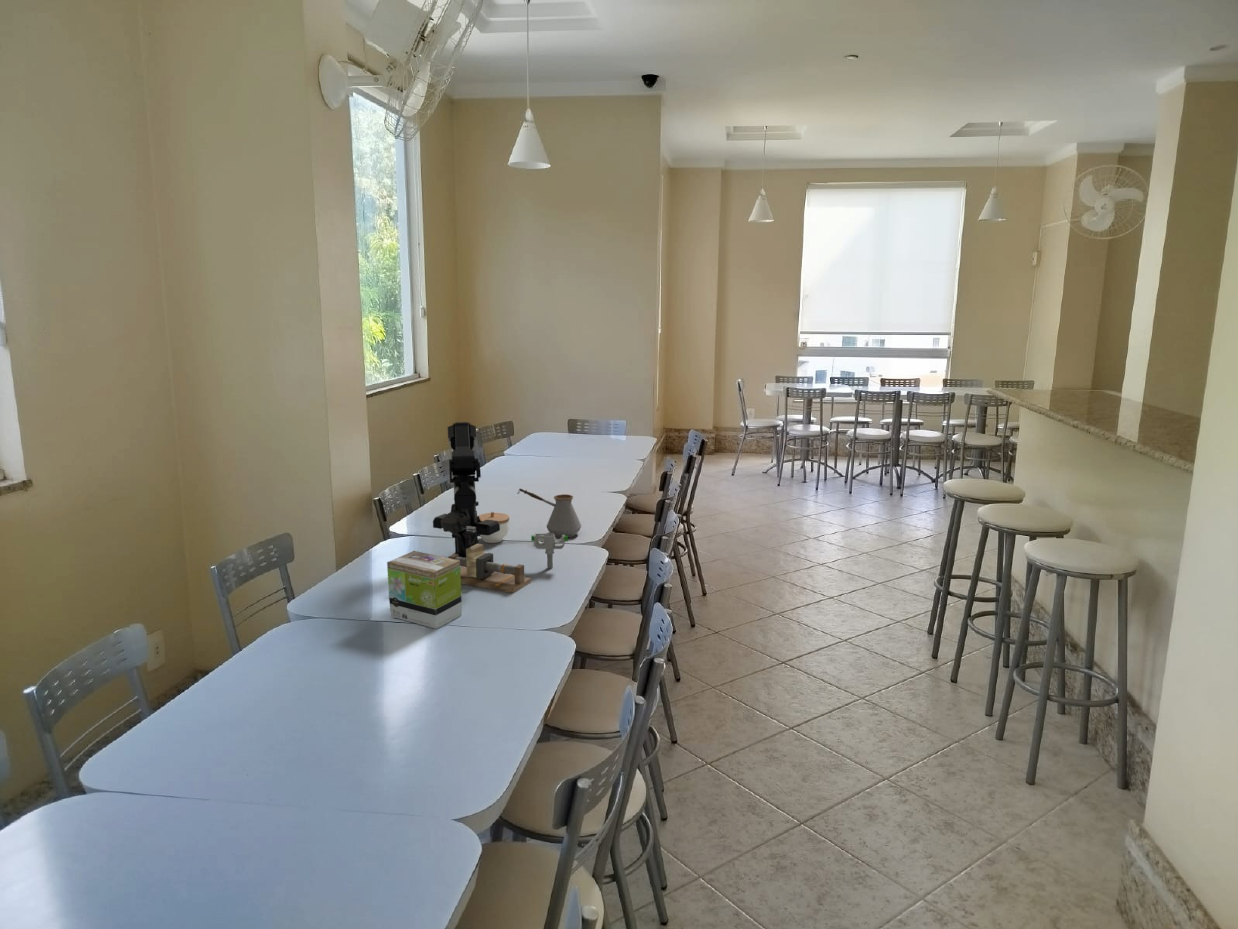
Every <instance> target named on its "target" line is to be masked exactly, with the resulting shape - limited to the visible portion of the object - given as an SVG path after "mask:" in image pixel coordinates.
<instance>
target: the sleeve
mask: <svg viewBox="0 0 1238 929" xmlns="http://www.w3.org/2000/svg"><path fill="white" fill-rule="evenodd" d="M487 553H488V552H484V544H483V543H482V544H481V543H479V544H476V545H474V546H472V547H469V548H467V549H466V561H467V576H470V577H477V558H479V557H481V556H483V555H485V554H487Z"/></svg>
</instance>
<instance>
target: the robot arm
mask: <svg viewBox="0 0 1238 929" xmlns="http://www.w3.org/2000/svg"><path fill="white" fill-rule="evenodd" d="M447 441H448V442H449V443H450V447H451V450H452V451H451V458H449V459H448V461H449V462H448V463H449V464H448V466H449V468H448V470H449V483H450V484H453V500H454V503H452V504H451V507H450V512H448V513H443V514H440V515H438V516H435V517H434V518H433V520H432V528H433V529H440V530H443V532H445V533H447V532H449V533H450V534H451V538H452V539H454V548H455V549H454V550H455V552H454V553H452V554H451V555H453V554H458V555H459V557H462V558H466V549H467V548H469V547H472V546H474V545H476V544H480V541H479V540H480V539H478V537H480V535H486V536H487V535H491V534H493V533H495V532H497V531H500V524H499V523H498V521H495V520H484V521H481V520H480V518H479V515H478V512H477V506H480V504H479V501H477V492H476V482H478V483H479V480H480V478H482V474H481V462H480V461H479V459H478V457H476V453H475V450H473V449H474V447H475V442H476V441H477V426H475V425H473V424H471V422H468V421H459V422H457V421H456V422H453V423H452V424H451V425H450V426H447ZM452 476H453V477H452Z"/></svg>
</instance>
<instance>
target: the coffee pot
mask: <svg viewBox="0 0 1238 929" xmlns="http://www.w3.org/2000/svg"><path fill="white" fill-rule="evenodd" d="M520 492H521V493H522V492H523V493H524V494H526V495H528V496H529V497H531V498H534V499H536V500H539V501H541V502H543V503H545V504H547V505H549V506H552V507H553V510H552V511H551V514H550V517H549V518H548V521H547V524H546V528H547V531H548V532H549V534H554V536H555V538H560V539H561V538H562V535H565V536H567V538H572V537H574V536H576V534H578V533H579V531H580V530H581V528H582V524H581V522H580V520H579V517H578V514H577V513H576V511H575V507H574V505H573V504H572V501H573V499H574V496H573V495H571V494H558V495H554V496H553V499H554V501H555V503H554V502H552V501H550V500H547V499H545V498H543V497H541V496H539V495H537V494H535V493H533V492H529V491H527V489H526V490H525V489H523V488H519V489H518V491H517V495H519V494H520Z"/></svg>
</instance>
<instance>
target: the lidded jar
mask: <svg viewBox="0 0 1238 929" xmlns="http://www.w3.org/2000/svg"><path fill="white" fill-rule="evenodd" d="M478 516H479V518H480V520H481V521H484V520H495V521H498V523H499V524H500V531H497V532H495V533H493V534H491V535H487V536H486V535H480V536H479V537H480V538H481V539H482V541H483V542H485V543H489V544H495V543H501V542H503V540H504V539H505V537H507V535H508V533H509V529H510V528H509V527H510V515H508V514H506V513H504V512H503V513H501V512H495V511H490V512H488V513H487V512H486V513H481V514H479V515H478Z"/></svg>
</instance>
